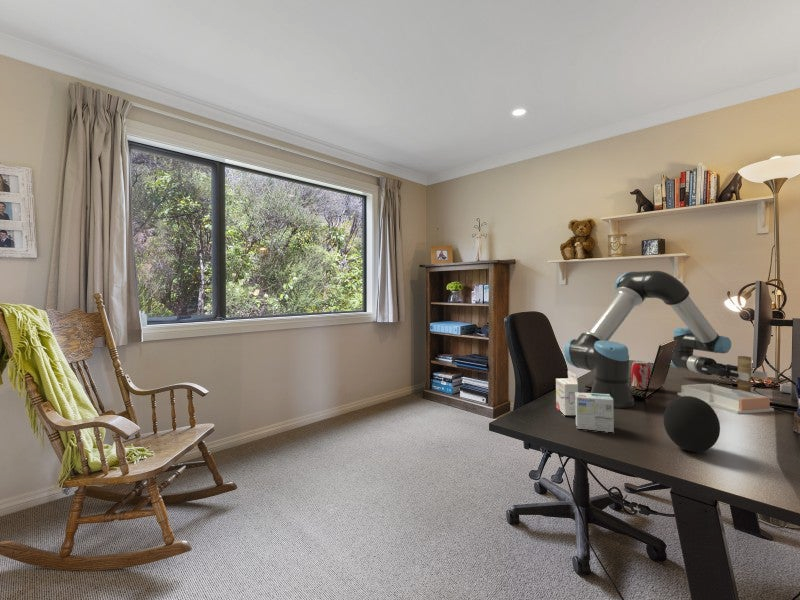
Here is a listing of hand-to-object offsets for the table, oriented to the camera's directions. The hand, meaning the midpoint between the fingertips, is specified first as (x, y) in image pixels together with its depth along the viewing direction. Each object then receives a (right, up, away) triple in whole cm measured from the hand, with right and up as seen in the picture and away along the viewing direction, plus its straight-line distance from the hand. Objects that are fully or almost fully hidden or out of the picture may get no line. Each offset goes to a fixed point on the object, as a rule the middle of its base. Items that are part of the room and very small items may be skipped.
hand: (757, 376), depth 147 cm
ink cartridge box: (-79, -11, -11) cm, 81 cm away
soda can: (-34, -9, +18) cm, 40 cm away
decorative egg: (-59, -12, -43) cm, 74 cm away
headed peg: (-1, -9, +5) cm, 10 cm away
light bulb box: (-77, -12, -25) cm, 82 cm away
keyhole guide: (-16, -9, -2) cm, 18 cm away
